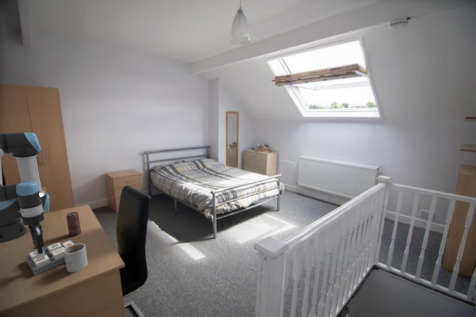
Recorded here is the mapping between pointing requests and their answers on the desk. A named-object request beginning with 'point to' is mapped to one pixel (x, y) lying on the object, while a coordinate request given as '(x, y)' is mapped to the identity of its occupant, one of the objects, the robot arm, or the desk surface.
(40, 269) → the keypad
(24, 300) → the desk surface
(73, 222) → the can
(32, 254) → the key slate
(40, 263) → the key rust
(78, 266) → the mug
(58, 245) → the key olive
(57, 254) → the key sand
